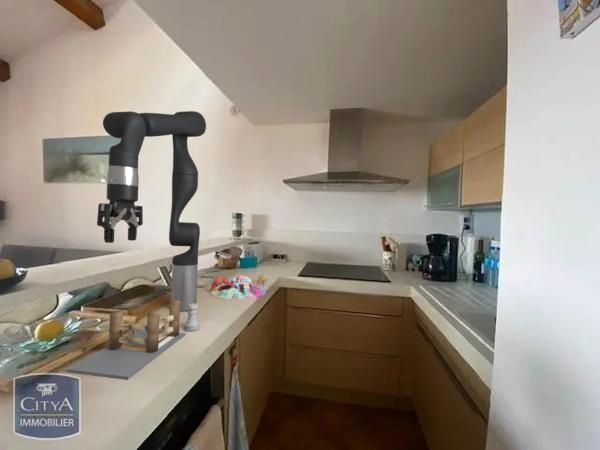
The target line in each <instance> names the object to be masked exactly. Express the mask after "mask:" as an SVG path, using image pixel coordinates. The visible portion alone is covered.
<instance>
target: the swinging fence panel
mask: <svg viewBox="0 0 600 450" xmlns="http://www.w3.org/2000/svg"><path fill="white" fill-rule="evenodd" d="M146 330H147V324H137V323H136V324H135V323H134V322H130V323H123V311H122V310H115V311H111V312H110V313H109V330H108V332H109V334H108V335H109V337H108V346H109V348H110V349H116V348H119V347H121V346H122V343H128V344H133V343H135V344H146V343H147V338H139V337H134V331H146ZM123 331H127V335H128V337H125V336H126V335H125V336H123Z"/></svg>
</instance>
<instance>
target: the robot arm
mask: <svg viewBox="0 0 600 450" xmlns="http://www.w3.org/2000/svg"><path fill="white" fill-rule="evenodd" d="M102 125H103V129H104V130H105V132H106V133H107V135H109V136H111V137H113V138H116V139H120V140H119V142H118V143H117V144H114V145H112V146H110V148H109V151H108V169H107V174H106V175H107V176H106V177H107V178H106V200H108V201H109V203H104V202H103V203H102V202H100V203H99V204H98V207H97V218H96V219H97V221H96V226H98V227H101V228H103V229H104V230H103V240H104V243H107V244H112V243H114V242H115V227H116V225H117V224H118V223H120V222H121V221H123V222H125V223H126V224H127V227H128V228H127V241H136V240H137V236H138V234H137V233H138V228H139V227H140V226H143V225H144V224H143V223H144V220H143V218H144V217H143V214H144V213H143V206H142V205H135V202H136V203H137V202H138V201H139V179H140V177H139V156H140V153H141V150H142V147H143V143H144V142H145V141H144V140H145V138H146V137H147V138H150V137H151V138H152V137H163V136H172V138H171V139H172V155H173V156H172V173H171V174H172V175H171V209H170V221H169V228H168V229H169V231H168V232H169V233H168V241H169V244H170V245H171V246H172V247H189V249H188V250H186V251H185V252H182V253H179V254H177V255H173V257H172V258H171V259H172V262H171V263H172V265H171V288H170V289H171V290H170V302H171V301H174V300H178V301H180V312H186V311H187V312H188V311H189V309H188V308H187V307H188V306H189V304H190V303H191V305H192V303H193V304H194V303H196V304H197V305H198V302H197V300H198V299H197V297H198V271H199V270H198V268H199V267H198V266H199V247H200V246H199V245H200V236H201V235H200V234H201V229H200V225H199V223H198V222H189V221H188V222H182V221H180V218H181V215H182V213H183V212H184V209H185V208H186V207H187V205H188V204H189V202H190V201H191V200H192V199H193V197H194V196H195V194H196V193H197V191H198V188H199V187H198V186H199V171H198V168H197V166H196V163H195V162H194V160H193V158H192V157H191V154H190V152H189V149H188V148H189V146H188V138H196V137H201V136H203V135H204V134H205V133H206V130H207V123H206V119H205V117H204V115H203V114H202V113H200V112H199V111H194V110H189V111H188V110H186V111H177V112H175V113H174V114H171V113H161V112H160V113H158V112H139V113H138V112H136V111H113V112H109V113H107V114H106V115H105V116H104V117H103V121H102Z"/></svg>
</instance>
